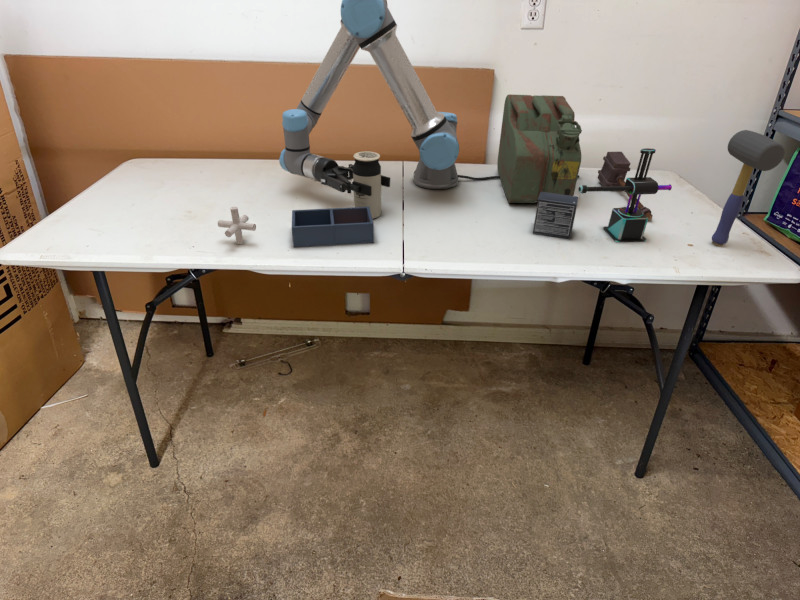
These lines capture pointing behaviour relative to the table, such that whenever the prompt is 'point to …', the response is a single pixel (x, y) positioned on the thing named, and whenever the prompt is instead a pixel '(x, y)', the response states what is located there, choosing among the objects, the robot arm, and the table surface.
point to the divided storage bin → (332, 226)
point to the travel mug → (368, 181)
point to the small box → (555, 214)
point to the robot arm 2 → (630, 220)
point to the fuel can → (538, 147)
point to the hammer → (618, 175)
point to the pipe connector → (236, 225)
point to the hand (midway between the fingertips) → (380, 186)
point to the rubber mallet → (746, 173)
